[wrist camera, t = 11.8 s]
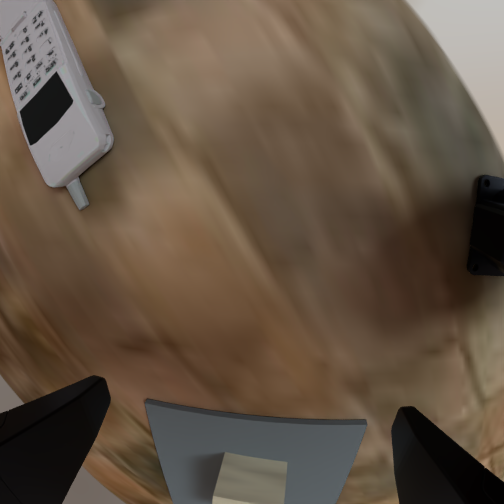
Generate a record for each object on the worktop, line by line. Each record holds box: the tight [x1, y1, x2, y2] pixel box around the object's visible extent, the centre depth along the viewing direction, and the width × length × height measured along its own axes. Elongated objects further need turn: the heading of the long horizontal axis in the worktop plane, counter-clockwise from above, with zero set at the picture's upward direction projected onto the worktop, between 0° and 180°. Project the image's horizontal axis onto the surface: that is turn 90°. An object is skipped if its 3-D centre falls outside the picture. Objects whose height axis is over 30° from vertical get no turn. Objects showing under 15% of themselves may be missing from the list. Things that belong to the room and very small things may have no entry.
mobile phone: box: [0, 0, 114, 210], centre depth 15 cm, size 6×6×25 cm
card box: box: [212, 452, 287, 504], centre depth 23 cm, size 8×6×5 cm
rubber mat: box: [145, 399, 367, 504], centre depth 25 cm, size 18×18×1 cm
